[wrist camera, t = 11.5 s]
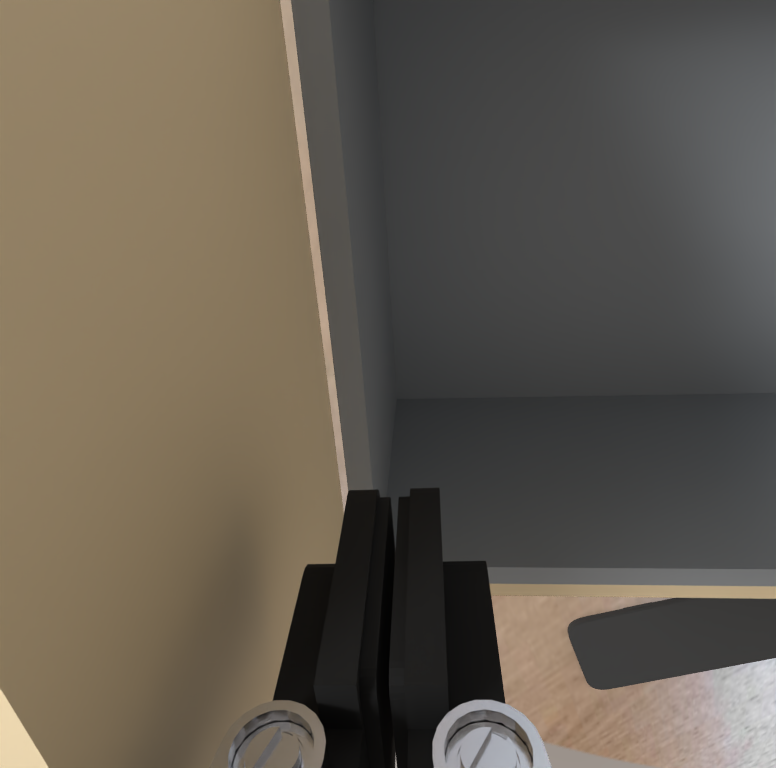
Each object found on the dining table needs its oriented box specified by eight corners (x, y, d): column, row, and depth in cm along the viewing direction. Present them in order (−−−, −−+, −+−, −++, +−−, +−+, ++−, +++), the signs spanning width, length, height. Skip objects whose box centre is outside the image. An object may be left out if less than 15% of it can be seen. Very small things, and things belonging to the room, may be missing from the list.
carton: (347, -84, 22) (268, -191, 11) (1078, -145, 20) (1798, -346, 9) (383, 414, 32) (360, 594, 22) (862, 407, 30) (1087, 602, 20)
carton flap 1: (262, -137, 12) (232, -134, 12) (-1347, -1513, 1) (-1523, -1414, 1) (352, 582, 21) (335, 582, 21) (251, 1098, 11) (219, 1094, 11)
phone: (825, 649, 39) (591, 693, 42) (818, 638, 40) (588, 682, 43) (817, 571, 36) (564, 626, 39) (809, 560, 36) (561, 615, 40)
